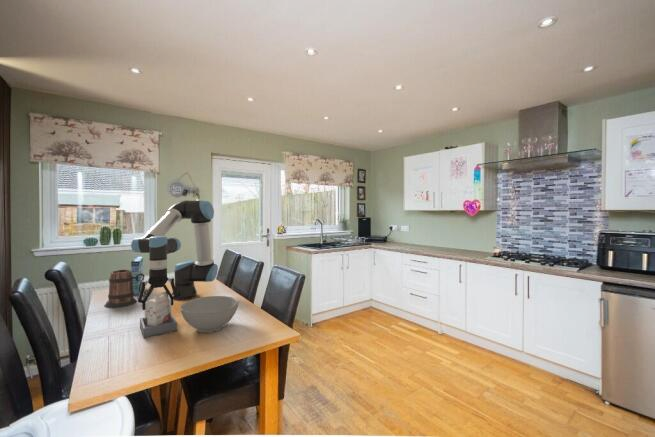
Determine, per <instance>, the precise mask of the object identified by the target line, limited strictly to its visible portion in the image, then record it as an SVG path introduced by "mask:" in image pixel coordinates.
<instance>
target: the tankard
mask: <svg viewBox="0 0 655 437" xmlns="http://www.w3.org/2000/svg"><path fill="white" fill-rule="evenodd" d="M139 275H142V276H143V279H142V280H141V282H142V281H145V274H144V273H143V274H142V273H139V274H137V275H136V277H133V276H132V273H131V269H118V270H113V271H111V272H110V276H109V277H108V282H109V283H108V284H109V286H108V295H107V298H108V299H107V301H106V302H105V304H104V305H103V307H104V308H106V309H119V308H127V307H130V306H133V305H136V304H137V303H138V299H136V298H135V297H134V296H135V295H134V291H133V279H136V280H137V281H139V279H138V278H139ZM141 282H140V284H139V294H140V290H141V284H142V283H141ZM148 290H149V289H145V290H144V293H143V297H142V298H144V297H145V295H146V293H147V291H148Z"/></svg>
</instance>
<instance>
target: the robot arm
mask: <svg viewBox="0 0 655 437" xmlns="http://www.w3.org/2000/svg"><path fill="white" fill-rule="evenodd" d="M214 209H215V208H214V206H213V204H212V203H211V202H210V201H208V200H188V199H187V200H182V201H179V202H177V203H174V204H173V205H172V206H170V207H169V208H168V209H167V210H166V211H165V215H163V216H162V217H161V218H160V219H159V220H158V221H157V222H156V223H155V224H154V225H153V226H152V227H151V228H150V229H149V230H148V231H147V232H146V233H145V234H144V235H143V236H142V237H135V238H133V239H132V241H131V243H130V244H131V245H130V248H131V250H132V252H134V253H141V254H146V253H147V254H148V256H149V258H148V260H149V261H148V268H149V271H148V279H147V280H143V281H142V282H141V283H142V287H141V290H140V293H139V295H138V298H137V301H138V302H137V303H138V304H141V306H142V307H141V309H142V310H143V311H144V317H147V301H148V299H149V297H150V295H151V294H152V292H153V291H154V289H158V288H163V289H164V291H165V292H167V293H168V297H169V313H171V314H172V306H174V300H175V301H185V300H192V299H195V298H196V297H197V296H198V291H197V289H196V286H195V282H201V283H203V282H205V283H210V282H213V281H214V280H215V279H216V277H217V275H218V270H219V267H218V264H217V263H215V261H214V259H213V258H212V251H211V238H210V225H209V224H210V223H211V222H212V219H214V216H215V210H214ZM181 220H190V222H191V224H192V225H193V227H194V228H193V230H194V240H195V252H196V253H195V254H196V261H193V260H188V261H183V262H179V263H176V264H175V265H174V277H168V268H167V267H168V254H174V253H175V252H178V251H179V250H180V249H181V247H182V243H181V241H180V240H179V239H178V238H176V237H170V238H168V237H167V236H165V235H167V234H168V232H169V231H170V230H171V229H172V228H173V227H174V226H175V225H176V224H177V223H179V222H181ZM167 282H169V283H170V286H171V290H172V292H171V291H170V290H169V288H168V287H167ZM148 284H149V285H150V286H149V288H148V289H147V290H148V291H147V292H145V290H146V286H147V285H148ZM144 292H145V293H146V294H144ZM143 295H145V297H143Z"/></svg>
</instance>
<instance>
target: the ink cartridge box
mask: <svg viewBox="0 0 655 437" xmlns="http://www.w3.org/2000/svg"><path fill="white" fill-rule="evenodd" d="M169 298H170V297H169V295H168V293H167V292H166V291H163V292H159V293H157V294H155V297H154V298H152V299H149V300H147V301H146V302H147V325H152V326H157V325H159V324H161V323H163V322H165V321H167V320H168V319H169Z"/></svg>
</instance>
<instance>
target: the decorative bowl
mask: <svg viewBox="0 0 655 437" xmlns="http://www.w3.org/2000/svg"><path fill="white" fill-rule="evenodd" d="M239 303H240V302H239V299H238V298H234V297H232V296H227V295H225V296H224V295H210V296H202V297H197V298H192V299H189V300H188V301H186V302H183V303H182V304H181V305H180V308H179V310H180V313H181V315H182V317H183V319H184V321H186V323H187V324H188V325H189V326H191V327H192V328H194V329H196V331H197V332H198V331H199V333H202V332H211V333H214V332H213V331H216V332H218V331H220V330H222V329H223V328H224V326H225V325H226V324H228V323H229V322H230V321H231V319H232V318H233V317H234V316H235V314H236V312H237V310H238V307H239ZM222 327H223V328H222ZM221 328H222V329H221ZM219 329H220V330H219ZM217 330H218V331H217Z"/></svg>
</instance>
